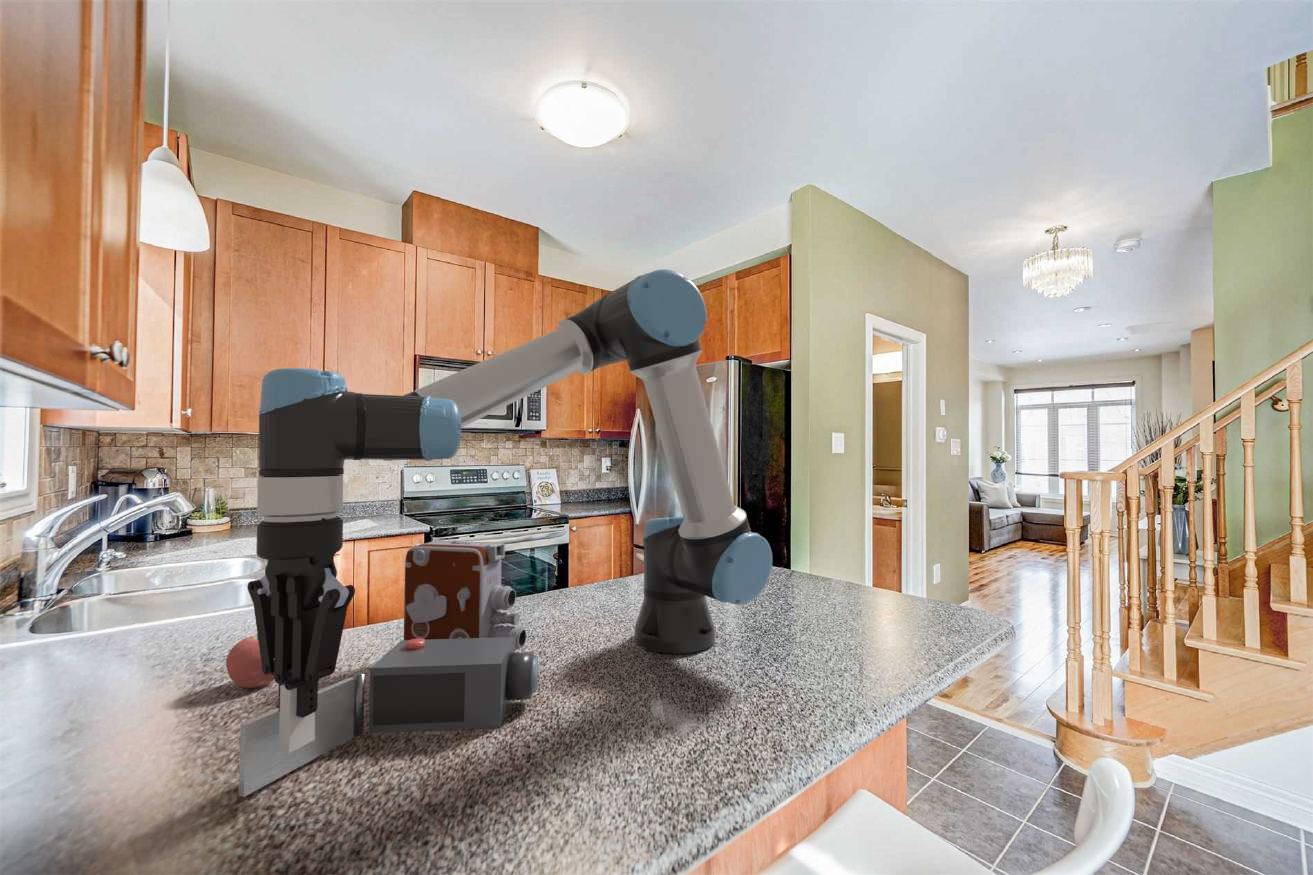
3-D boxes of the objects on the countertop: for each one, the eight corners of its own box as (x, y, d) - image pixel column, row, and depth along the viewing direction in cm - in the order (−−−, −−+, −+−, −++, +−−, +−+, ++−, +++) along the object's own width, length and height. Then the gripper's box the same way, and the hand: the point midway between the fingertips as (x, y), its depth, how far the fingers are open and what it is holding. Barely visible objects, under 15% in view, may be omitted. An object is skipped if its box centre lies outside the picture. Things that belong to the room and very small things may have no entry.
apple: (213, 691, 77) (215, 636, 77) (265, 672, 84) (267, 621, 84) (247, 699, 75) (249, 642, 75) (298, 679, 81) (299, 626, 82)
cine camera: (506, 679, 81) (508, 549, 82) (395, 669, 85) (398, 544, 86) (532, 657, 90) (533, 540, 91) (431, 649, 94) (432, 536, 95)
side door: (354, 729, 65) (356, 670, 66) (366, 732, 65) (367, 672, 65) (234, 793, 53) (236, 720, 53) (246, 797, 52) (248, 723, 53)
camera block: (539, 691, 77) (540, 630, 77) (529, 726, 67) (529, 656, 67) (400, 697, 75) (401, 634, 76) (368, 733, 65) (369, 661, 66)
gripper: (378, 515, 57) (374, 738, 56) (293, 511, 61) (289, 717, 61) (312, 523, 50) (306, 778, 49) (221, 518, 54) (215, 752, 53)
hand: (297, 744), depth 55 cm, fingers closed
